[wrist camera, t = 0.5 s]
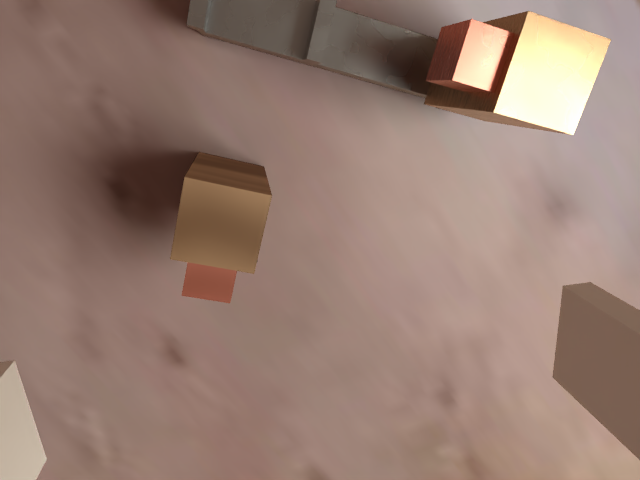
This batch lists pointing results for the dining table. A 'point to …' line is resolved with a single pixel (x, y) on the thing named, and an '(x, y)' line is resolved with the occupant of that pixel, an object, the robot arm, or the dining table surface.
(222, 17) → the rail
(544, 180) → the dining table surface
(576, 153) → the dining table surface
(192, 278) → the walnut finger
